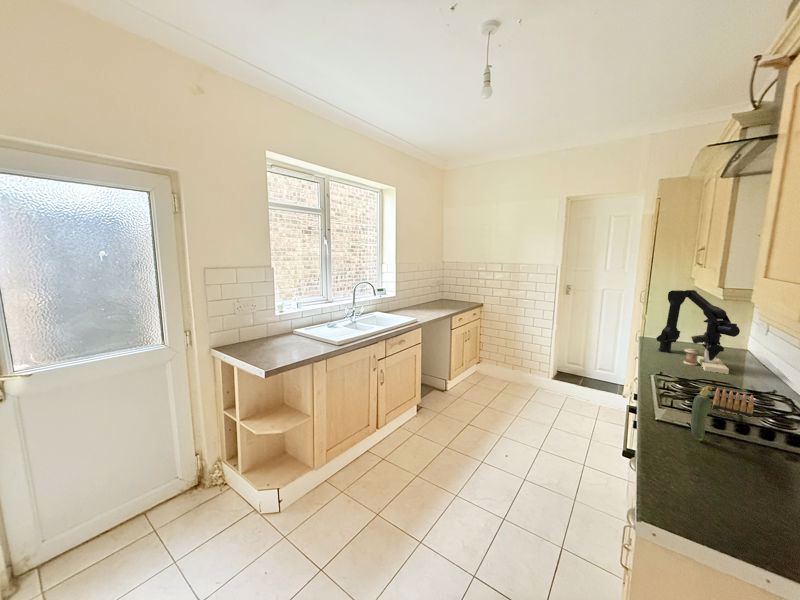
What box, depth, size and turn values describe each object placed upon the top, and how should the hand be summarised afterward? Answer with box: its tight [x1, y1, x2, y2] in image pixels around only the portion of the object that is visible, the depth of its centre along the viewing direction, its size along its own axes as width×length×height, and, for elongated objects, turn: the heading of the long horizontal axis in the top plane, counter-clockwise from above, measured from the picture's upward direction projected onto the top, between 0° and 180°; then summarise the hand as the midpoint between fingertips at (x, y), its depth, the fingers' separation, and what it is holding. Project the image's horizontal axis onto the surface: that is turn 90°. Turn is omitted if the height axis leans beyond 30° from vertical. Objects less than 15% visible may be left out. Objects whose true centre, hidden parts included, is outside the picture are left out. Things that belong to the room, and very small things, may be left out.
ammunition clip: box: [711, 387, 755, 418], centre depth 120 cm, size 11×2×12 cm, turn 44°
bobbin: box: [682, 348, 700, 366], centre depth 181 cm, size 6×6×8 cm
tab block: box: [703, 347, 717, 364], centre depth 176 cm, size 4×4×7 cm
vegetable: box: [690, 385, 713, 442], centre depth 108 cm, size 4×4×20 cm
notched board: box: [696, 355, 730, 375], centre depth 176 cm, size 20×9×3 cm, turn 146°
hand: (709, 359), depth 177 cm, fingers closed on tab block, 4 cm apart
